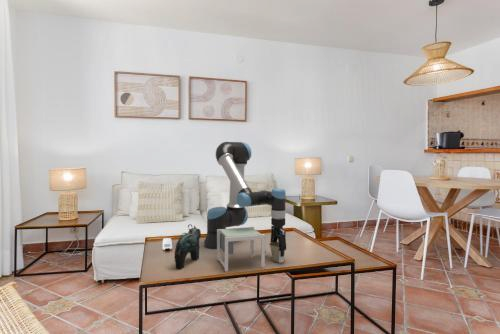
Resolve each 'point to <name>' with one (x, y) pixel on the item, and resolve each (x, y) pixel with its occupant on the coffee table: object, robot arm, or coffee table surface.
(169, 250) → the coffee table surface
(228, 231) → the grey l-shaped slab
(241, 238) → the frame
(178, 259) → the dark green animal figurine
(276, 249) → the flower pot
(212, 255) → the coffee table surface
